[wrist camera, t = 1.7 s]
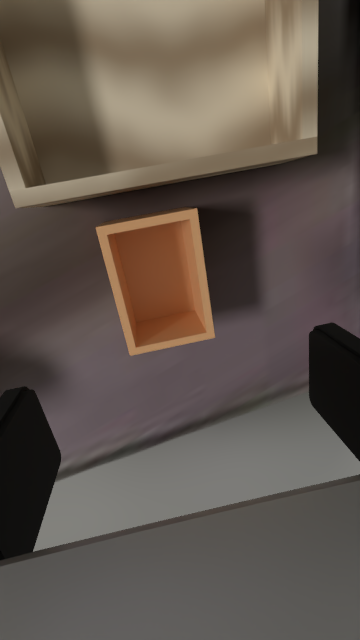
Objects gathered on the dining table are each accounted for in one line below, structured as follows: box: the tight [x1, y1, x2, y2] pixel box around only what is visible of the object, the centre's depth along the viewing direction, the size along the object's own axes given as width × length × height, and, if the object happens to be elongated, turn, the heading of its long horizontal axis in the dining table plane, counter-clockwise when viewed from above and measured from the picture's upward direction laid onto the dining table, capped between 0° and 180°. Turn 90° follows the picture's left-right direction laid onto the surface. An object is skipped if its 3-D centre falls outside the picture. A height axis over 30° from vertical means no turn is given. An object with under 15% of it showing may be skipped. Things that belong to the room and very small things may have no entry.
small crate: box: [96, 207, 215, 356], centre depth 25 cm, size 10×7×6 cm
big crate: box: [0, 0, 318, 208], centre depth 19 cm, size 18×20×6 cm
